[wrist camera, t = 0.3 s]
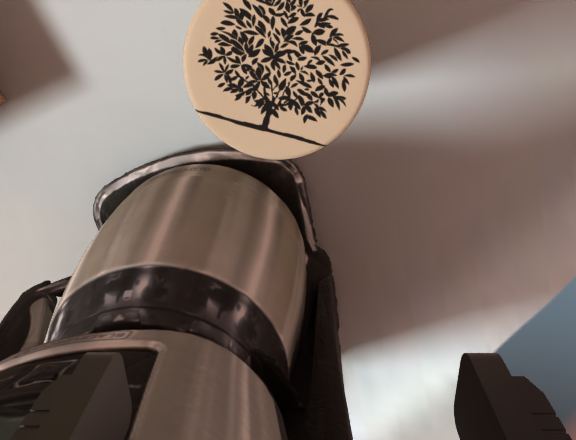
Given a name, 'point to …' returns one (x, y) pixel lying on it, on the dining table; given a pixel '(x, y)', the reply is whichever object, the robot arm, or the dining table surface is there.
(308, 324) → the coffee maker
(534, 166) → the dining table surface
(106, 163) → the dining table surface
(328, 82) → the travel mug
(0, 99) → the lane
